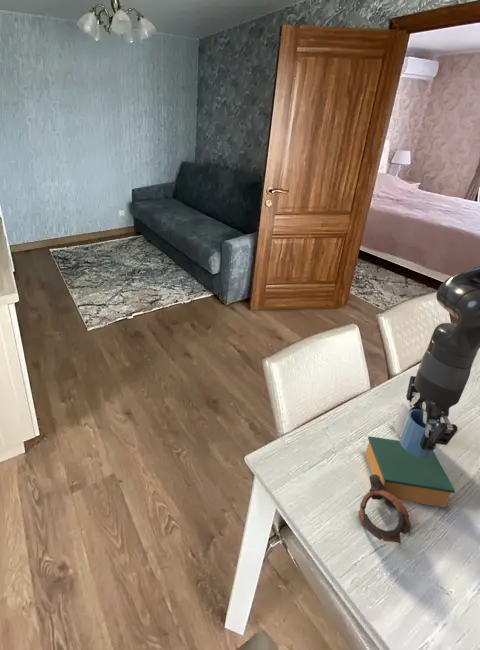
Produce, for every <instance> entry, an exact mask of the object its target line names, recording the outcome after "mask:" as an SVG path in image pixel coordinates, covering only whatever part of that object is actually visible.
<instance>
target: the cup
mask: <svg viewBox="0 0 480 650" xmlns="http://www.w3.org/2000/svg"><path fill="white" fill-rule="evenodd" d="M429 421H435V422H437V421H438V420H433V419H429ZM435 429H436V428H435V427H432V428H431V432H434V431H435ZM424 433H425V424H424V423H423V410H420V409H413V410H411V411H410V412H409V414H408V416H407V419H406V422H405V425H404V428H403V430H402V433H401V436H399V441H400V444H401V446H402V447H403V449H404V450H405V451H406V452H408V453H409V454H411V455H412V456H415V457H417V458H427V457H428V456H429V455H430V453H431V451H432V450H424V449H422V448H421V446H420V443H421V440H422V438H423V435H424Z"/></svg>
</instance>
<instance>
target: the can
mask: <svg viewBox="0 0 480 650" xmlns="http://www.w3.org/2000/svg"><path fill="white" fill-rule="evenodd" d="M412 395H413V396H416V392H413V393H412ZM406 396H407V394H405V395H404V396H403V397H402V400H401V403H400V405H399V409H398V411H397V414H396V418H395V420H394V424H393V428H394V431H395V433H396V434H397V435H398V437H400V436H401V433H402V430H403V428H404V425H405V422H406V419H407V416H408V414H409V411H410V407H409V403H410V401H408V400H407V398H406Z"/></svg>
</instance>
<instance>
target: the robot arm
mask: <svg viewBox="0 0 480 650" xmlns="http://www.w3.org/2000/svg"><path fill="white" fill-rule="evenodd" d="M435 295H436V297H435V298H436V301H437V303H438V305H439V306H441V307H442V308H443V309H444V310H445V311H447V312H448V313H449V314H450V315H452V316H453V317H454V318H455V319H457V323H453V322H442V323H440V324H438V325H436V327H435V328H434V330H433V332H432V335H431V337H430V339H429V343H428V345H427V348H426V350H425V352H424V353H423V354H422V355H423V356H422V358H421V361H420V363H419V367H418V370H417V372H416V375H410V377H409V381H408V387H407V390H406V395H407V396H406V398H407V400H408V401H410V403H409V407H410V411H411V410H413V409H420V410H423V423H424V424H425V433H424V435H423V438H422V440H421V443H420V446H421V448H422V449H424V450H432V451H433V452H434V450H435V447H436V446H437V445H442V446H448V444H449V443H450V441H451V440H452V438H453V437H454V436H455V434H456V433H457V432H458V426H457V424H454V423H451V421H450V420H449V416H450V409H451V408H452V407H454V406H456V405H457V404H458V403H459V402H460V400H461V397H462V395H463V392H464V390H465V388H466V385H467V384H468V382H469V379H470V376H471V371H472V367H473V365H474V361H475V359H476V357H477V355H478V353H479V349H480V264H479V265H476V266H474V267H472V268H468V269H466V270H463V271H461V272H458V273H456V274H453V275H452V276H450V277H448V278H447V279H446V280H444V281H443V282H442V283H441V284H440V286H439V287H438V288H437V290H436V294H435ZM413 392H416V396H413V395H412V393H413ZM410 411H409V412H410ZM429 419H433V420H438V421H437V422H435V421H429ZM432 427H435V428H436V429H435V431H434V432H431V428H432Z"/></svg>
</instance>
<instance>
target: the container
mask: <svg viewBox="0 0 480 650" xmlns="http://www.w3.org/2000/svg"><path fill="white" fill-rule="evenodd" d="M367 441H368V444H367V447H366V450H365V453H364V456H365V458H366V461H367V464H368V467H369V469H370V473H371V475H374V474H376V475H378V476H379V477H380V480H381V482H382V484H383V486H384V488H385V489H386V491H387V492H389V493H390V494H392V495H394V496H395V497H396V498H398V499H399V500H400V501H406V502H412V503H418V504H423V505H429V506H433V507H439V508H440V507H441V508H445V507H446V505H447V503H448V502H449V499H450V497H451V495H452V494H456V489H455V488H454V486H453V483H452V482H451V481H450V479H449V477H448V475H447V473H446V471H445V469H444V468H443V465H442V464H441V462H440V461H439V458H438V456H437V455H436V453H435V452H434V450H433V451H431V453H430V455H429V456H428V457H427V458H417V457H415V456H412V455H411V454H409V453H408V452H406V451H405V450H404V449H403V447H402V446H401V444H400V440H398V439H390V438H383V437H378V436H377V437H376V436H370V435H368V437H367Z"/></svg>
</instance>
